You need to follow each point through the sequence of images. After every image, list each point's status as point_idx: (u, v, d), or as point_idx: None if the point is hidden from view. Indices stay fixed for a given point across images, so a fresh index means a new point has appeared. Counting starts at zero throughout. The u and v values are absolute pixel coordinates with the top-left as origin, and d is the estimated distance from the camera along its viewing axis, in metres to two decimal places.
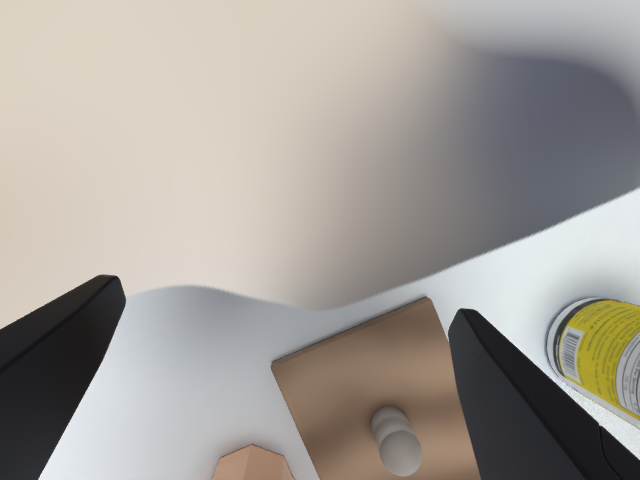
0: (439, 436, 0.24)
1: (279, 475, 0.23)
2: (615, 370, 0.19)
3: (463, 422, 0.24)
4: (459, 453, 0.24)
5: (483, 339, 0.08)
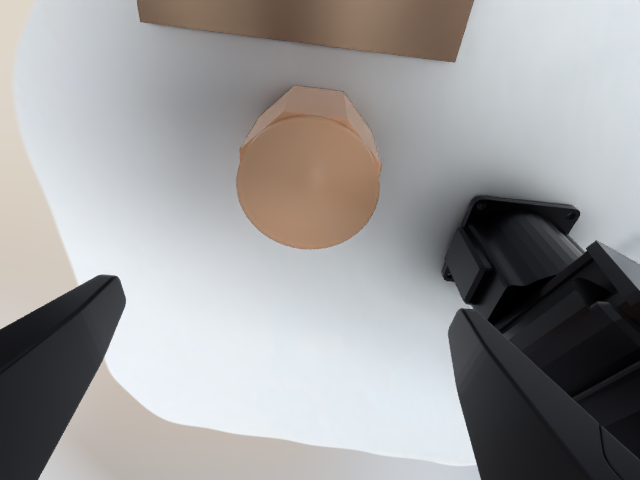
0: None
1: (288, 96, 0.16)
2: None
3: None
4: None
5: (483, 339, 0.08)
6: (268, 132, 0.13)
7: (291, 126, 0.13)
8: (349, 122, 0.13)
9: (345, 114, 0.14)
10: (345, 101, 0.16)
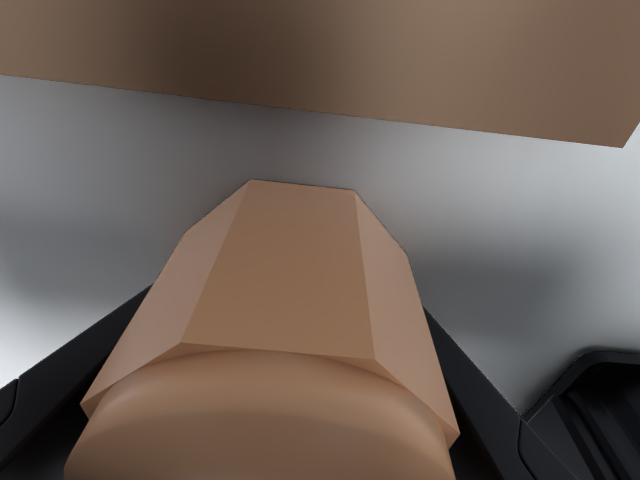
0: None
1: (227, 227, 0.07)
2: None
3: None
4: None
5: None
6: (123, 428, 0.04)
7: (193, 422, 0.04)
8: (380, 363, 0.05)
9: (367, 323, 0.05)
10: (360, 234, 0.07)
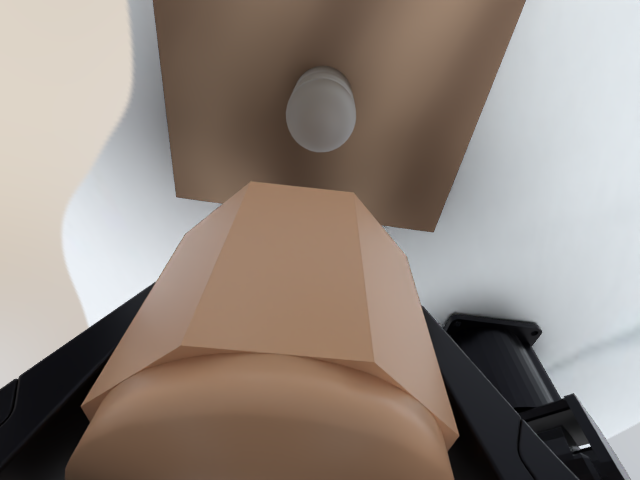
0: (391, 30, 0.13)
1: (227, 229, 0.07)
2: None
3: None
4: (442, 11, 0.13)
5: None
6: (124, 431, 0.04)
7: (193, 424, 0.04)
8: (380, 366, 0.05)
9: (366, 326, 0.05)
10: (360, 237, 0.07)
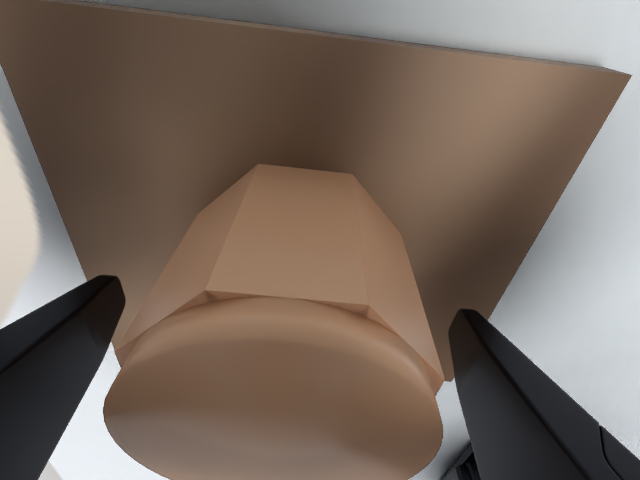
0: (390, 179, 0.09)
1: (239, 203, 0.07)
2: None
3: (398, 102, 0.08)
4: (466, 156, 0.09)
5: (483, 339, 0.08)
6: (158, 359, 0.05)
7: (218, 350, 0.05)
8: (374, 309, 0.05)
9: (363, 279, 0.06)
10: (358, 210, 0.08)
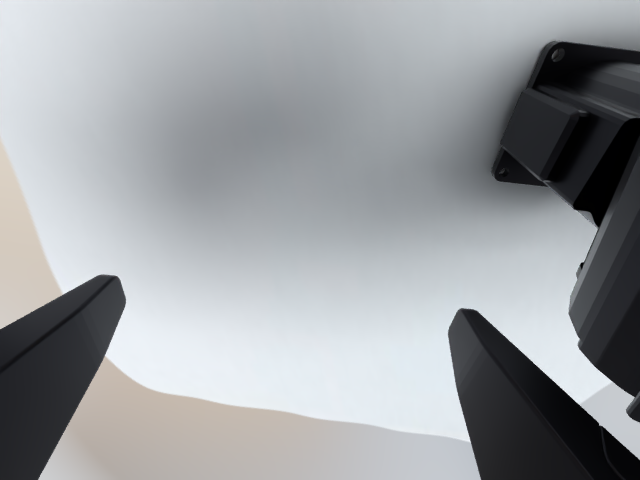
0: None
1: None
2: None
3: None
4: None
5: (483, 339, 0.08)
6: None
7: None
8: None
9: None
10: None
